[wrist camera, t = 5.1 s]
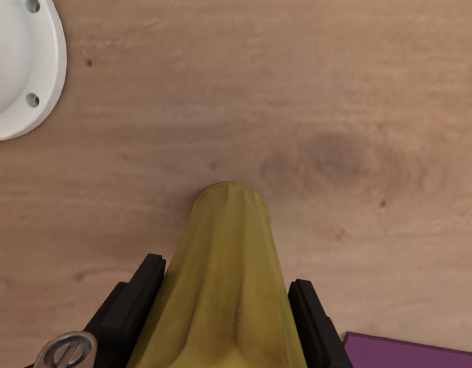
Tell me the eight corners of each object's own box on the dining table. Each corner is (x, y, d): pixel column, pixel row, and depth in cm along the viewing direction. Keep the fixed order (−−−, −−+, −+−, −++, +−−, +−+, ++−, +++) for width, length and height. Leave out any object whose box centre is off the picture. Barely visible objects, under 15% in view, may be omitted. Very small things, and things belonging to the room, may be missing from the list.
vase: (191, 255, 20) (87, 554, 6) (188, 180, 19) (46, 350, 5) (267, 257, 20) (336, 558, 6) (271, 181, 19) (370, 355, 5)
